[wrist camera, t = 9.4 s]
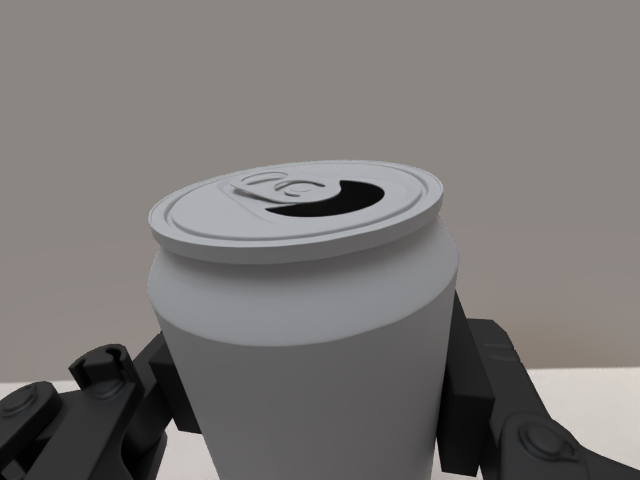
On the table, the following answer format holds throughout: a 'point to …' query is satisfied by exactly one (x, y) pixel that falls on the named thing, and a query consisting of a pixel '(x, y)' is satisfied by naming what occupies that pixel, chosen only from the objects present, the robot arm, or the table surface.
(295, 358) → the beverage can
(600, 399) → the table surface
